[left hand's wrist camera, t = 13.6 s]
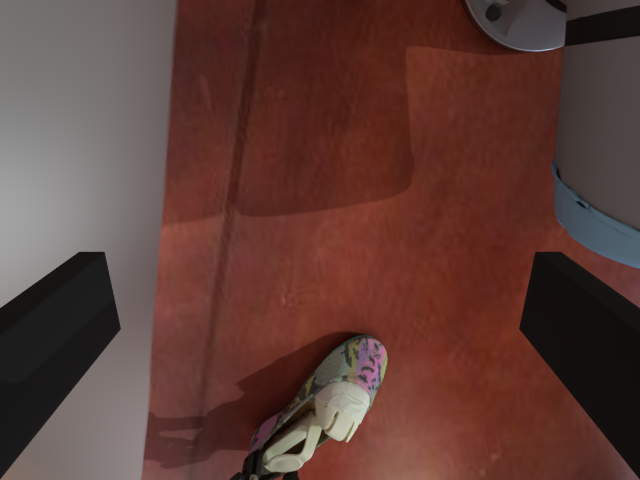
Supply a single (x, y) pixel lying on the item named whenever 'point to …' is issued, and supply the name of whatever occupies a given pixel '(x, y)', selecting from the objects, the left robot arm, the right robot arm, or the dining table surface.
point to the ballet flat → (322, 407)
